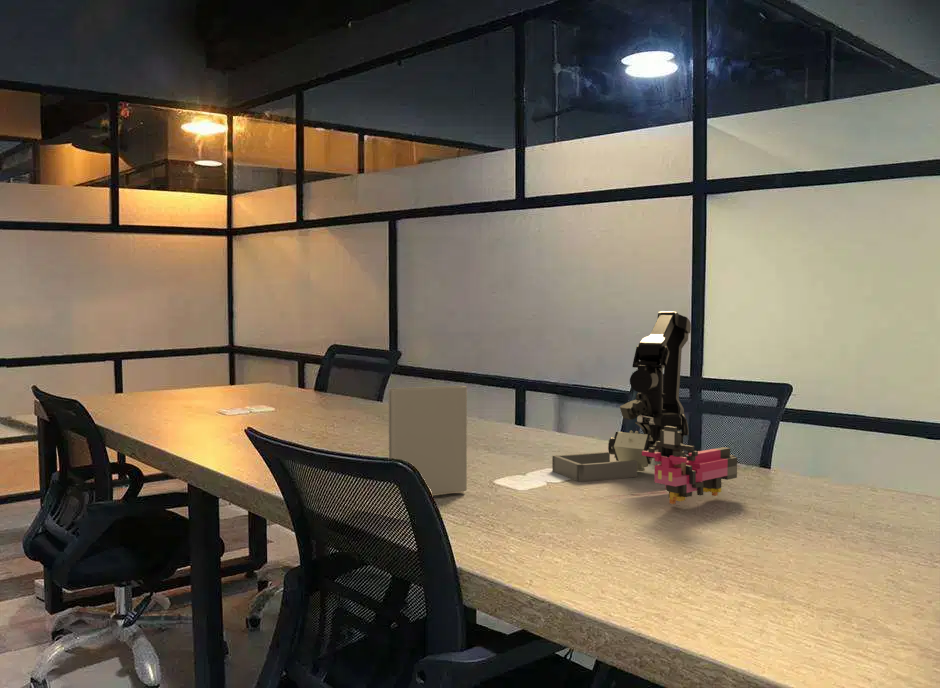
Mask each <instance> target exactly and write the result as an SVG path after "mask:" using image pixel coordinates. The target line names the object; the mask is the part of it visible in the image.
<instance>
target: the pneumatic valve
mask: <svg viewBox="0 0 940 688" xmlns="http://www.w3.org/2000/svg"><path fill="white" fill-rule="evenodd" d="M653 445H656V441H653V439H652V437H651V435H650V434H644V433H639V431H638V430H635V432H634V431H633V430H629V432H625V431H624V432H623V431H615V433H614V437H612V436H611V437H610V438H609V440H608V444H607V452H609V454H610V455H611V456H612V455H614V457H613V458H615V462H617V461H631V460H635V461H637V472H645V470H646V469H645V468H648V467H649V465H651V464H652V461H653V459H654V460H655V458H654V457H648V456H642V451H649V448H653ZM656 451H657V452H658V450H656Z"/></svg>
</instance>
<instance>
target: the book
mask: <svg viewBox="0 0 940 688" xmlns="http://www.w3.org/2000/svg"><path fill="white" fill-rule="evenodd" d="M467 393H468V387H467V386H466V385H445V386H443V385H442V386H441V385H440V386H423V387H398V388H396V387H395V388H388V459H389V458H398V459H402V460H406V461H408V462H410V463H412V464H413V465H414V466H415V467H416V468H417V469H418V470H419V471H420V473H421V474H422V476H423V478H424V479H425V481H426V483H427V485H428V486H429V488H430V489H431V491H432V494H433V496H434V495H442V494H443V495H444V494H452V493H453V494H454V493H462V492H466V491H468V489H467V488H468V487H467V483H468V482H467V478H468V477H467V469H468V468H467V467H468V466H467V465H468V464H467V459H468V458H467V457H468V455H467V454H468V453H467V451H468V450H467V449H468V447H467V446H468V445H467V444H468V443H467V441H468V439H467V436H468V435H467V431H468V429H467V428H468V427H467V424H468V422H467V421H468V419H467V418H468V417H467V416H468V414H467V413H468V411H467V409H468V407H467V400H468V399H467V398H468V396H467Z"/></svg>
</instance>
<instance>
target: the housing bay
mask: <svg viewBox="0 0 940 688" xmlns="http://www.w3.org/2000/svg"><path fill="white" fill-rule="evenodd" d="M610 460H611V454H609V451H601V452H586V453H585V452H584V453H571V454H558V455H557V454H556V455H552V471H551V472H554V473H555V474H559V475H561V476H564V477H566V478H568V479H572V480H574V481H576V482H578V483H580V482H592V481H602V480H603V481H604V480H617V479H628V478H629V479H631V478H637V477H638V471H637V461H635V460H631V461H610Z"/></svg>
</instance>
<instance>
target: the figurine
mask: <svg viewBox="0 0 940 688" xmlns="http://www.w3.org/2000/svg"><path fill="white" fill-rule="evenodd" d="M677 431H678V430H677V427H671V426H664V430H660V441H656V445H653V448H649V451H642V456H648V457H654V458H655V459H654V461H655V462H659V464H655V465H654V483H655V484H660V485H665V488H664V489H665V490H666V491H667V492H668V499H669V502H668V503H669V504H671V505H675V504H676V502H684V501H686V498H689V497H692V496H693V493H694V492H696V495H697V496H703V495H704V493H711V496H713V497H717V496H718V495H719V494H718V493H721V492H722V480H734V479H738V457H736V455H734V454H731V447H726V446H725V447H724V446H723V447H722V446H721V447H717V448H711V449H710V448H709V449H704V450H698V451H697V450H695V445H688V444H683V445H682V444H681V432H677ZM659 446H661V447H664V448H669V449H673V455H671V456H670V457H665V456H661V452H657V451H656V450H659ZM682 450H683V451H682ZM686 451H688V455H686ZM685 455H686V456H685Z"/></svg>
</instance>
